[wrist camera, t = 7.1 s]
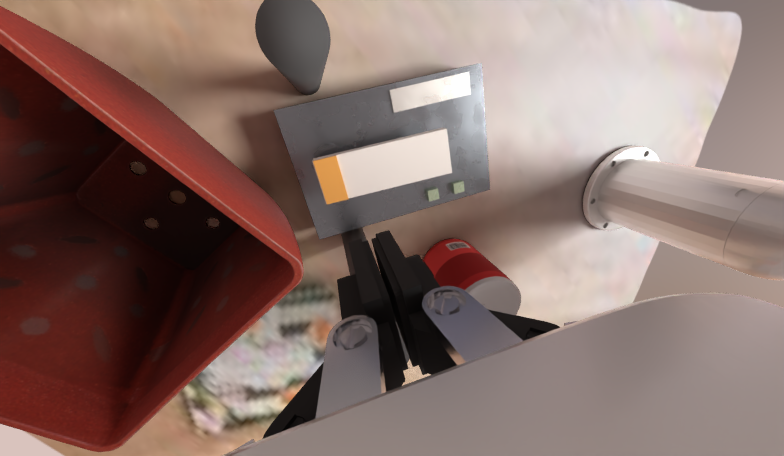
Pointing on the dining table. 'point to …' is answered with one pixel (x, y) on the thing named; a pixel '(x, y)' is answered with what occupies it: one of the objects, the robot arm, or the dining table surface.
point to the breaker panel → (387, 122)
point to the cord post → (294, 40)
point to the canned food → (472, 275)
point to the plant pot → (116, 246)
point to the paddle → (383, 165)
